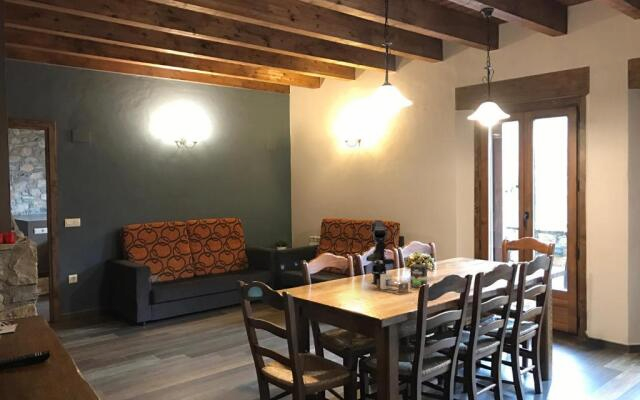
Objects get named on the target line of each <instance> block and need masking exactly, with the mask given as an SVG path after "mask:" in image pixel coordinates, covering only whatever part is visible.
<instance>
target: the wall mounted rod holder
mask: <svg viewBox="0 0 640 400" xmlns="http://www.w3.org/2000/svg"><path fill="white" fill-rule="evenodd" d="M403 284H404V285H405V284H406V287H403ZM404 288H405V289H404ZM373 290H374V291H378V292H384V293H387V294H392V295H395V296H396V295H397V296H404V295H409V293H410V294H412V293H413V292H412V291H409V283H408V282H403V283H402V282H400V284H399V288H396V287H392V288H389V289H380V279H377V284H376V287H374V288H373ZM396 291H399V292H396ZM392 292H395V293H392Z"/></svg>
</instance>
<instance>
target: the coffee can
mask: <svg viewBox="0 0 640 400" xmlns="http://www.w3.org/2000/svg"><path fill="white" fill-rule="evenodd" d="M409 267H410V281H409V283H410V285H409V286H410V289H411V290H415V291H416V290H417V291H420V290H419V288H420V286H421V285H423V284H427V285H428V265H427V264H422V263H421V264H420V263H418V264H417V263H416V264H415V263H413V264H410V266H409Z"/></svg>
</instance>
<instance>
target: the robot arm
mask: <svg viewBox="0 0 640 400" xmlns="http://www.w3.org/2000/svg"><path fill="white" fill-rule="evenodd" d="M370 229H371V233H372V236H373V241H374V250H373V252H372V253H371V254H368V256H366V262H372V265H371V275H372V276H373V279H372V280H373V281H372V282H371V284H373V285H377V279H380V274H386V273H387V266H386V265H393V264H395V261H394V258H389V257H387V256H385V255H386V254H385V253H386V252H387V250H386V247H387V245H386V243H385V241H387V240H388V231H387V230H386V228H385V224H384V222H383V220H381V219H377V220H374V222H373V223H371V226H370Z"/></svg>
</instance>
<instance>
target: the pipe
mask: <svg viewBox="0 0 640 400" xmlns="http://www.w3.org/2000/svg"><path fill="white" fill-rule="evenodd" d="M400 283H401V281H400V282H399V281H394V280H392V281H389V280H386V285H388V286H392V288H396V289H399V284H400ZM403 287H406V284H405V285H404V284H403ZM404 289H405V288H404ZM396 292H399V291H396ZM392 293H395V292H392ZM392 293H391V294H392Z"/></svg>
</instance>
